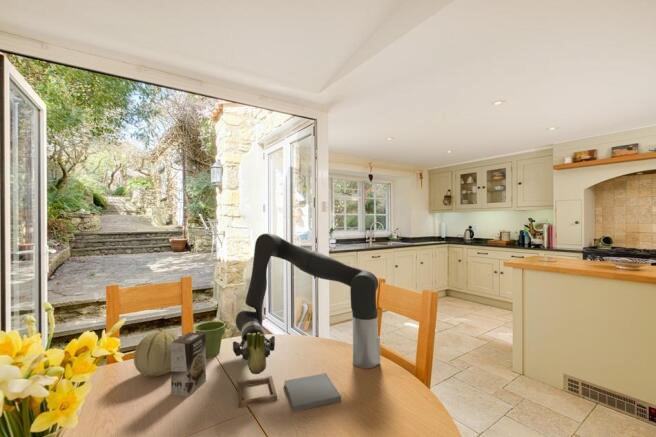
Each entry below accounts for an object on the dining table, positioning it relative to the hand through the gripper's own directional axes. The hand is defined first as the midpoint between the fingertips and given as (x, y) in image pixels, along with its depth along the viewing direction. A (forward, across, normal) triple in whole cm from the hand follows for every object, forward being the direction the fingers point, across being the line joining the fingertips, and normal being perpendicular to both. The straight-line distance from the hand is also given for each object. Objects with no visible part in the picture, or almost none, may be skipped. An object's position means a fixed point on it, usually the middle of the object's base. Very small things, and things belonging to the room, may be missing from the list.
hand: (256, 355), depth 90 cm
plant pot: (-36, -15, +13) cm, 41 cm away
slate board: (+4, +16, +12) cm, 21 cm away
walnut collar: (-2, 0, +12) cm, 13 cm away
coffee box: (-12, -20, +13) cm, 27 cm away
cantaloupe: (-25, -31, +13) cm, 42 cm away
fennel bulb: (-3, 0, +6) cm, 7 cm away
